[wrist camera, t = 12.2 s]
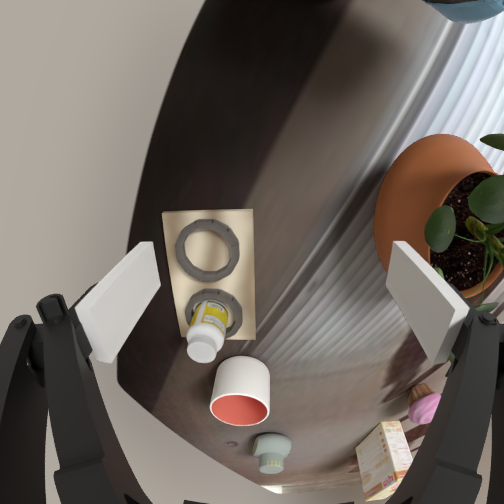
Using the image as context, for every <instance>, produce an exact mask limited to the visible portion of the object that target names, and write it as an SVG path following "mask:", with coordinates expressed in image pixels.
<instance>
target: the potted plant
mask: <svg viewBox="0 0 504 504" xmlns="http://www.w3.org/2000/svg"><path fill="white" fill-rule="evenodd" d="M480 141H481V142H483V143H485V144H487V145H489V146H491V147H494V148H496V149H499V150H503V151H504V134H489V135H486V136H484V137H482V138H481V139H480ZM374 238H375V244H376V249H377V252H378V256H379V258H380V261H381V263H382V265H383V267H384V269H385V270H386V272H387V273H388V269H389V263H390V258H391V252H392V246H393V241H405V242H407V243H408V244H409V245H410V246H411V247H412V248H413V249H414V250H415V251H416V252H417V253H418V254H419V255H420V256H421V257H422V258H423V259H424V260H425V261H426V262H427V263H428V264H429V265H430V266H431V267H432V268H433V269H434V270H435V271H436V272H437V273H438V274H439V275H440V276H441V277H442V278H443V279H444V280H445V281H447V282H449V283H450V284H452V285H454V286H455V287H456V288H457V289H458V290H459V291H460V293H461V294H462V295H463V296H464V298H469V297H472V296H474V295H476V294H478V293H480V292H482V300H483V291H484V290H485V289H486V288H487V287H488V286H489V285H491V284H492V283H493V282H494V280H495V279H496V278H497V277H498V276H499V274H500V273H501V272H502V270H503V268H504V175H498V174H497V173H495V172H494V171H493V169H492V167H491V166H490V164H489V163H488V162H487V160H486V159H485V158H484V157H483V156H482V154H481V153H480V152H479V151H478V150H477V149H476V148H475V147H474V146H473V145H472V144H470V143H469V142H467V141H466V140H464V139H462V138H460V137H457V136H454V135H449V134H435V135H430V136H427V137H424V138H422V139H420V140H418V141H416V142H414V143H413V144H411V145H410V146H409V147H407V148H406V149H405V150H404V151H403V152H402V153H401V154H400V155H399V156H398V158H397V159H396V160H395V161H394V163H393V164H392V166H391V167H390V169H389V171H388V172H387V174H386V176H385V178H384V180H383V183H382V185H381V188H380V191H379V194H378V198H377V202H376V207H375V213H374ZM497 306H498V302H493V303H488V304H483V305H482V304H481V305H478V306H474V308H475V309H476V310H477V311H485V312H488V313H489V312H491V311H492V310H494V309H495V308H496V307H497ZM448 358H449V360H450V362H451V364H452V362H453V360H454V358H455V356H454V354H453V353H452V351H451V353H450V355H449V357H448Z"/></svg>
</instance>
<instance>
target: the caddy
mask: <svg viewBox="0 0 504 504" xmlns="http://www.w3.org/2000/svg"><path fill="white" fill-rule="evenodd" d="M162 219H163V228H164V236H165V244H166V251H167V258H168V265H169V271H170V277H171V284H172V290H173V295H174V301H175V306H176V312H177V317H178V322H179V327H180V332H181V337H187V331H188V329H189V326H190V323H191V320H192V318H193V315H194V312H195V309H196V307H197V305H198V304H199V303H200V302H202V301H204V300H208V299H212V300H217V301H219V302H221V303H222V304H223V305H224V306H225V307H226V308H227V311H228V322H227V327H226V333H225V338H224V340H225V339H238V340H256V319H255V274H254V230H253V209H227V210H192V211H167V212H163V213H162Z"/></svg>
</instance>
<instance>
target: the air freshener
mask: <svg viewBox="0 0 504 504" xmlns="http://www.w3.org/2000/svg"><path fill="white" fill-rule="evenodd" d="M290 449H291V440H290V439H289V438H288V437H286V436H284V435H281V434H275V433H269V434H263V435H260V436H258V437H257V438H256V440H255V442H254V446H253V455H254V456H255V457H257V458H259V470H260V471H261V472H263V473H267V474H275V473H279V472H281V471H282V470H283V458H285V457H287V456H288V454H289V452H290Z"/></svg>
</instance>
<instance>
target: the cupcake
mask: <svg viewBox="0 0 504 504" xmlns="http://www.w3.org/2000/svg"><path fill="white" fill-rule="evenodd" d="M440 398H441V395H440V394H439V393H435V392H434V391H433V390H432V389H431V388H430V387H429V386H428V385H427V384H420V385H415V386H413V387H412V389H411V391H410V394H409V396H408V402H409V406H410V409H409V412H408V415H409V419H410V420H411V421H412V422H414V423H417V424H426V423H429V422H431V421H432V419H433V416H434V414H435V411H436V409H437V406H438V404H439V401H440Z"/></svg>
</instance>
